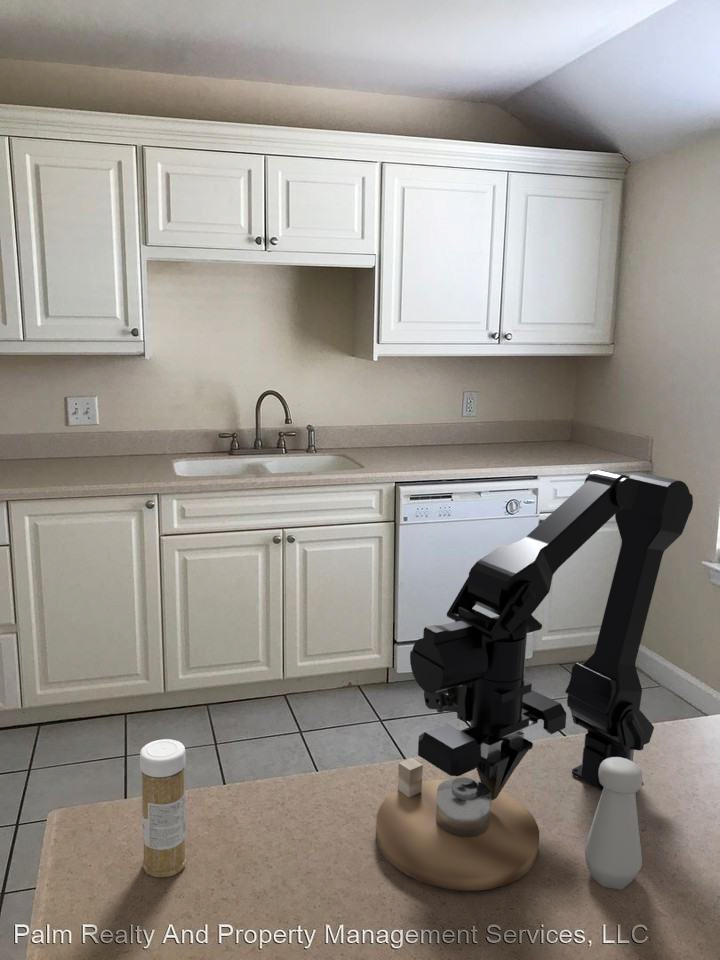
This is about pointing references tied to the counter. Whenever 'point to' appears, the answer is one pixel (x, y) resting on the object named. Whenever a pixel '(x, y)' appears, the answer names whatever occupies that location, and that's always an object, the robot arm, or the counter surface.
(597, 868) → the salt shaker
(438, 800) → the cover
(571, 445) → the counter surface
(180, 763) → the spice bottle
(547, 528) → the robot arm
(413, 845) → the disc
